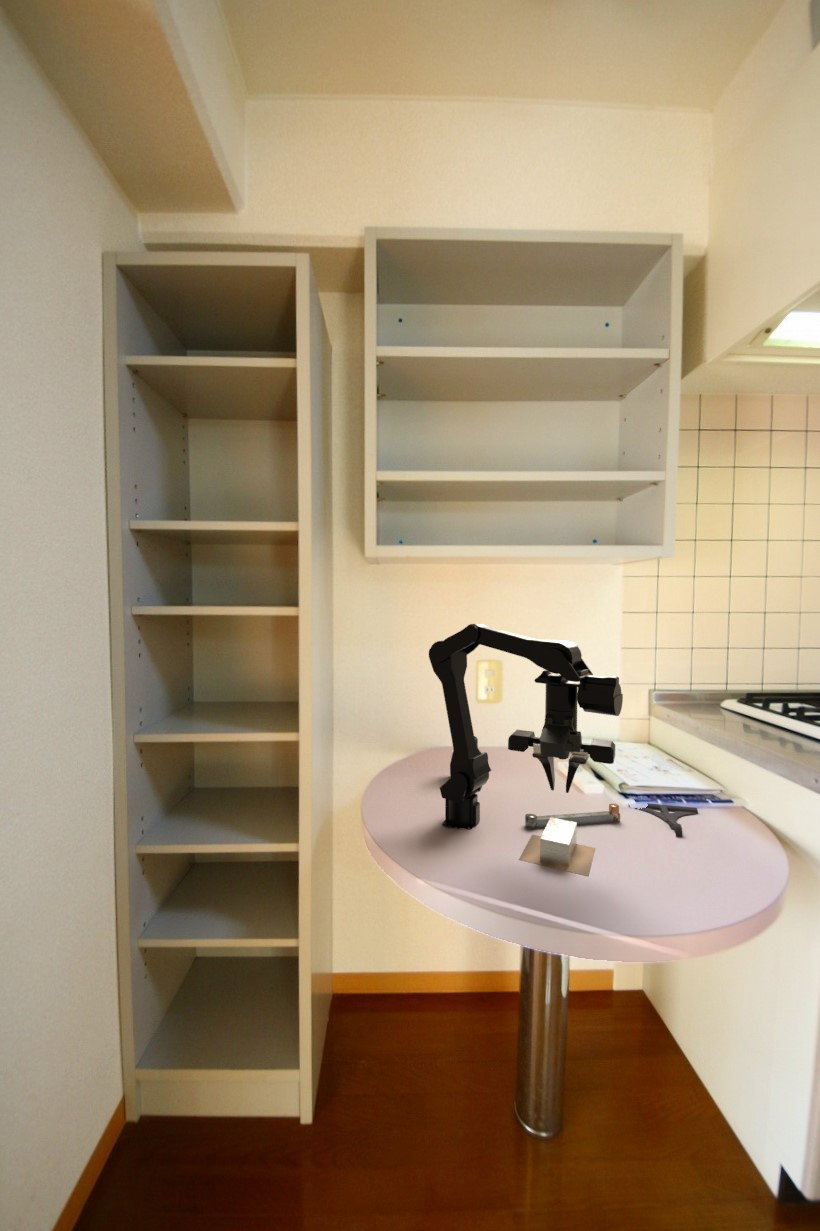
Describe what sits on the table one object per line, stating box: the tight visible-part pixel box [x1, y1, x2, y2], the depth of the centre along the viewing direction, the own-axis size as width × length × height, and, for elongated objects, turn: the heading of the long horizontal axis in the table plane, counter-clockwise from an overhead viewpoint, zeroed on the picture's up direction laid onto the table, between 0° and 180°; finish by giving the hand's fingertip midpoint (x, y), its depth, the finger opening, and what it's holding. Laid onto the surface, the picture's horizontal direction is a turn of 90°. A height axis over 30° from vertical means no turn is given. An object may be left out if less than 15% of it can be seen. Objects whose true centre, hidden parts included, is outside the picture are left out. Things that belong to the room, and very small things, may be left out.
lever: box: [524, 803, 621, 830], centre depth 104 cm, size 21×2×4 cm, turn 100°
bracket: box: [638, 802, 699, 838], centre depth 107 cm, size 14×15×3 cm
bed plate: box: [518, 834, 596, 877], centre depth 91 cm, size 12×11×1 cm
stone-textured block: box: [540, 817, 578, 867], centre depth 92 cm, size 5×10×4 cm, turn 154°
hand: (560, 791), depth 92 cm, fingers open, 2 cm apart
